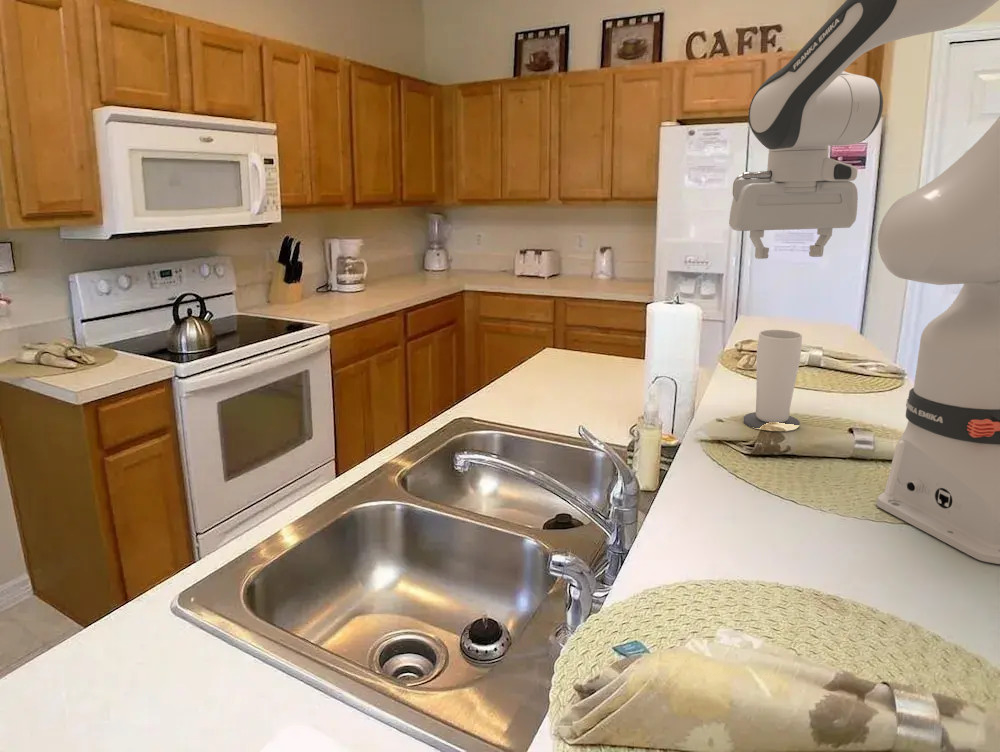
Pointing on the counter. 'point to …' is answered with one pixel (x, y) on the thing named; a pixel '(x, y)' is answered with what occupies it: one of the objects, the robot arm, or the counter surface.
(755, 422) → the coaster
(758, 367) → the drinking glass
